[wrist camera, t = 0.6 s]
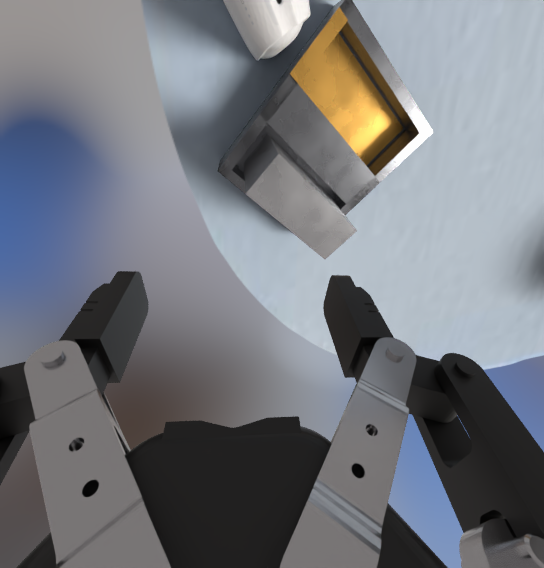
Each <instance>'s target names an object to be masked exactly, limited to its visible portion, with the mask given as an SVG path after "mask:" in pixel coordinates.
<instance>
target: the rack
mask: <svg viewBox="0 0 544 568" xmlns="http://www.w3.org/2000/svg"><path fill="white" fill-rule="evenodd" d="M432 133H433V130H432V129H431V127H430V125H429V124H428V122H427V121H426V119H425V117H424V116H423V114H422V113H421V111H420V109H419V108H418V106H417V104H416V103H415V101H414V100H413V98H412V96H411V95H410V93H409V92H408V90H407V88H406V87H405V85H404V83H403V82H402V80H401V79H400V77H399V75H398V74H397V72H396V70H395V69H394V67H393V66H392V64H391V62H390V61H389V59H388V58H387V56H386V54H385V53H384V51H383V49H382V48H381V46H380V45H379V43H378V41H377V40H376V38H375V37H374V35H373V33H372V32H371V30H370V28H369V27H368V25H367V24H366V22H365V20H364V19H363V17H362V16H361V14H360V12H359V11H358V9H357V7H356V6H355V4H354V3H353V1H352V0H341V1H340V2H339V3H337V4H336V5H335V6H334V7H333V8H332V9H331V11H330V12H329V13H328V15H327V16H326V18H325V19H324V20H323V22H322V23H321V24H320V26H319V27H318V28H317V30H316V31H315V33H314V34H313V35H312V37H311V38H310V39H309V41H308V42H307V43H306V45H305V46H304V48H303V49H302V50H301V52H300V53H299V54H298V56H297V57H296V58H295V60H294V61H293V63H292V64H291V65H290V67H289V68H288V69H287V71H286V72H285V73H284V75H283V76H282V78H281V79H280V80H279V82H278V83H277V84H276V86H275V87H274V88H273V90H272V91H271V93H270V94H269V95H268V97H267V98H266V99H265V101H264V102H263V103H262V105H261V106H260V108H259V109H258V110H257V112H256V113H255V114H254V116H253V117H252V118H251V120H250V121H249V122H248V124H247V125H246V127H245V128H244V129H243V131H242V132H241V133H240V135H239V136H238V137H237V139H236V140H235V142H234V143H233V144H232V146H231V147H230V148H229V150H228V151H227V152H226V154H225V155H224V157H223V158H222V159H221V161H220V163H219V167H218V172H219V173H221V174H222V175H223V176H224V177H225V178H227V179H228V180H229V181H230V182H231V183H233V184H234V185H235V186H236V187H238V188H239V189H240V190H241V191H242V192H244V193H245V194H246V195H247V196H248V197H250V198H251V199H252V200H253V201H255V202H256V203H257V204H258V205H259V206H261V207H262V208H263V209H264V210H265V211H267V212H268V213H269V214H270V215H272V216H273V217H274V218H275V219H276V220H278V221H279V222H280V223H281V224H282V225H284V226H285V227H286V228H287V229H288V230H290V231H291V232H292V233H293V234H295V235H296V236H297V237H298V238H299V239H301V240H302V241H303V242H304V243H305V244H307V245H308V246H309V247H310V248H312V249H313V250H314V251H315V252H316V253H318V254H319V255H320V256H321V257H323V258H324V259H326V258H327V257H328V256H329V255H331V254H332V253H333V252H334V251H335V250H336V249H337V248H338V247H339V246H341V245H342V244H343V243H344V242H345V241H346V240H347V239H348V238H350V237H351V236H352V235H353V234H354V233H355V232H356V231H357V230H356V229H355V227H354V226H353V225H352V224H351V222H350V221H349V220H348V218H347V217H346V216H345V215H346V214H347V213H348V212H349V211H350V210H351V209H352V208H353V207H355V206H356V205H357V204H358V203H359V202H360V201H361V200H362V199H363V198H364V197H365V196H366V195H367V194H368V193H369V192H370V191H371V190H373V189H374V188H375V187H376V186H377V185H378V184H379V183H380V182H381V181H382V180H383V179H384V178H385V177H386V176H387V175H388V174H390V173H391V172H392V171H393V170H394V169H395V168H396V167H397V166H398V165H399V164H400V163H401V162H402V161H403V160H404V159H405V158H406V157H408V156H409V155H410V154H411V153H412V152H413V151H414V150H415V149H416V148H417V147H418V146H419V145H420V144H421V143H422V142H423V141H424V140H426V139H427V138H428V137H429V136H430V135H431V134H432Z"/></svg>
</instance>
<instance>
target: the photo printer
mask: <svg viewBox="0 0 544 568" xmlns="http://www.w3.org/2000/svg"><path fill="white" fill-rule="evenodd" d="M223 1H224V3H225V5H226V7H227V9H228V11H229V13H230V15H231V17H232V19H233V21H234V23H235V25H236V27H237V29H238V31H239V33H240V34H241V36H242V38H243V40H244V42H245V44H246V46H247V47H248V49H249V51H250V52H251V54H252V55H253V56H254V58H255V59H256V60H257V61H258V60H259V59H260V58H261V59H269V58H272V57H274V56H276V55H277V54H278V53H279V52H281V51H282V50H283V49H284V48H285V47H287V46H288V45H289V44H290V43H291V42H292V41H293V40H294V39H295V38H296V36H297V35H298V33H299V31H300V29H301V27H302V24H303V23H304V22H305V21H306V20H307V19H308V18H309V17H310V6H309V0H223Z"/></svg>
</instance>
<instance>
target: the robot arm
mask: <svg viewBox="0 0 544 568" xmlns="http://www.w3.org/2000/svg"><path fill="white" fill-rule="evenodd" d="M374 304H375V303H374V302H373V300H372V298H371V296H370V295H369V294H368V293H367V292H366V291H365V290H364V289H362V288H361V287H356V286H355V285H354V283H353V281H352V279H351V277H350V276H339V275H332V276H331V278H330V281H329V285H328V288H327V292H326V296H325V300H324V315H325V319H326V322H327V325H328V328H329V331H330V334H331V337H332V340H333V343H334V346H335V349H336V352H337V355H338V358H339V361H340V364H341V367H342V370H343V373H344V376H345V377H346V378H347V377H355V379H356V382H357V384H356V386H355V389H354V391H353V393H352V395H351V398H350V400H349V402H348V404H347V407H346V409H345V411H344V413H343V416H342V418H341V420H340V422H339V425H338V427H337V429H336V431H335V434H334V436H333V438H332V440H331V442H330V441H329V440H328V439H326V438H325V437H323V436H322V435H320V434H318V433H317V432H315V431H312V430H310V429H307V428H305V427H301V426H300V421H299V417H277V418H276V417H275V418H266V419H262V420H259V421H256V422H253V423H250V424H246V425H243V426H240V427H236V428H230V427H225V426H221V425H217V424H212V423H208V422H204V421H179V422H166V424H165V428H164V433H161V434H158V435H156V436H154V437H151V438H149V439H148V440H146V441H144V442H142V443H141V444H139V445H138V446H136V447H135V448H133V449H132V450H130V448H129V446H128V444H127V442H126V440H125V438H124V436H123V434H122V431H121V429H120V427H119V425H118V422H117V420H116V418H115V416H114V414H113V411H112V409H111V407H110V404H109V402H108V400H107V398H106V396H105V394H104V390H105V388H106V385H107V383H118V382H120V381H121V378H122V376H123V373H124V371H125V368H126V366H127V363H128V361H129V358H130V356H131V353H132V351H133V348H134V346H135V343H136V341H137V338H138V336H139V333H140V331H141V328H142V326H143V323H144V321H145V319H146V316H147V313H148V299H147V295H146V292H145V288H144V284H143V280H142V276H141V274H140V273H139V272H128V271H126V272H125V271H123V272H122V271H120V272H117V273H116V275H115V276H114V278H113V279H112V281H111V282H110V284H103V285H101V286H100V287H99V288H97V289H96V290H95V291H93V292H92V294H91V295H90V296H89V298H88V300H87V301H86V303H85V304H84V305H83V307H82V308H81V311H80V312H79V313H78V314H77V315H76V317H75V318H74V320H73V321H72V323H71V324H70V325H69V327H68V328H67V330H66V331H65V333H64V334H63V336H62V337H61V339H60V340H59V341H56V342H53V343H50V344H47V345H45V346H43V347H42V348H40V349H38V350H37V351H35V352H34V353H33V354H32V355H31V356H30V357H29V358H28V359H27V361H26V362H23V363H19V364H15V365H11V366H6V367H2V368H0V485H1V483H2V481H3V479H4V477H5V475H6V473H7V472H8V470H9V468H10V466H11V464H12V462H13V460H14V459H15V456H16V455H17V453H18V451H19V449H20V447H21V446H22V444H23V442H24V440H25V438H26V436H27V434H28V432H29V431H30V435H31V440H32V444H33V449H34V454H35V458H36V463H37V468H38V473H39V478H40V483H41V487H42V492H43V497H44V501H45V506H46V511H47V515H48V521H49V525H50V530H51V532H50V533H49V535H48V536H47V537H46V538H45V539H44V540H43V541H42V542H41V543H40V544H39V545H38V546H37V547H36V548H35V549H34V550H33V551H32V552H31V553H30V554H29V555H28V556H27V557H26V558H25V559H24V560H23V561H22V562H21V563H20V565H19V566H18V567H17V568H447V566H446V565H444V563H443V562H442V561H441V560H440V559H439V558H438V557H437V556H436V555H435V553H434V552H433V551H432V550H431V549H430V548H429V547H428V546H427V545H426V544H425V543H424V542H423V541H422V540H421V538H420V537H419V536H418V535H417V534H416V533H415V532H414V531H413V530H412V529H411V528H410V526H409V525H408V524H407V523H406V522H405V521H404V520H403V519H402V518H401V517H400V516H399V515H398V513H396V511H395V510H394V509H393V508H392V507H391V506H390V505H389V504H388V499H389V495H390V491H391V486H392V482H393V478H394V474H395V469H396V465H397V461H398V457H399V452H400V448H401V444H402V440H403V436H404V431H405V427H406V423H407V418H408V414H412V415H413V417H414V419H415V421H416V423H417V426H418V428H419V430H420V433H421V435H422V437H423V440H424V442H425V444H426V447H427V449H428V451H429V454H430V456H431V458H432V461H433V463H434V465H435V468H436V470H437V472H438V474H439V477H440V479H441V481H442V484H443V486H444V488H445V490H446V493H447V495H448V498H449V500H450V502H451V505H452V507H453V509H454V511H455V514H456V516H457V518H458V521H459V523H460V525H461V527H462V530H463V532H464V534H463V535H462V537H461V540H460V556H461V560H462V561H461V566H462V568H544V452H543V451H542V449H541V448H540V446H539V445H538V444H537V442H536V441H535V440H534V438H533V437H532V436H531V434H530V433H529V432H528V430H527V429H526V428H525V426H524V425H523V423H522V422H521V421H520V419H519V418H518V417H517V415H516V414H515V413H514V411H513V410H512V408H511V407H510V406H509V404H508V403H507V402H506V400H505V399H504V398H503V396H502V395H501V394H500V392H499V391H498V389H497V388H496V387H495V385H494V384H493V383H492V381H491V380H490V379H489V377H488V376H487V375H486V373H485V372H484V370H483V369H482V368H481V367H480V366H479V365H478V364H477V363H475V362H474V361H473V360H471V359H469V358H468V357H465V356H463V355H460V354H456V353H448V354H445V355H444V356H443V357H442V358H441V360H440V361H436V360H433V359H429V358H425V357H421V356H417V355H415V353H414V352H413V350H412V349H411V348H410V347H409V346H408V345H407V344H405V343H404V342H402V341H400V340H398V339H395V338H394V337H393V335H392V334H391V332H390V330H389V328H388V327H387V325H386V323H385V321H384V319H383V318H382V316H381V314H380V312H378V309H377V307H376V305H374ZM457 415H458V416H457ZM458 417H459V418H458ZM459 419H460V420H461V422H462V424H463V425H462V424H461V422H460V420H459ZM463 426H464V427H465V429H466V431H467V432H466V431H465V429H464V427H463ZM467 433H468V434H467ZM468 435H469V436H468ZM469 437H470V438H469ZM470 439H471V440H470Z"/></svg>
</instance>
